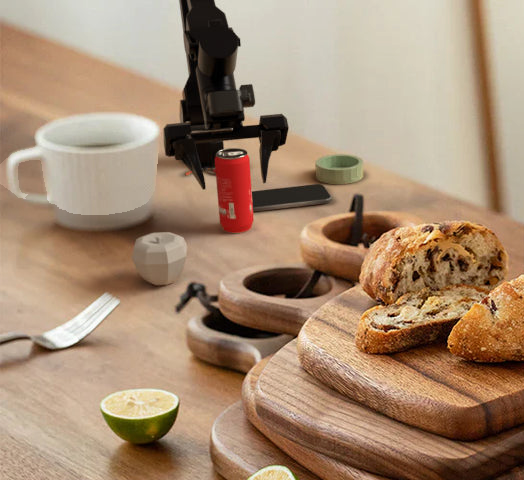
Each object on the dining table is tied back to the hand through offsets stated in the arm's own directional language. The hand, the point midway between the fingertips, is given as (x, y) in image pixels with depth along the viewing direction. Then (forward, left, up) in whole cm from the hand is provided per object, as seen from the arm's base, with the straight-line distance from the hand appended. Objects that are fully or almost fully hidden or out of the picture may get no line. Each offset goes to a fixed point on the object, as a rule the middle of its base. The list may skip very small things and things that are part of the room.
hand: (234, 185), depth 162 cm
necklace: (-26, +11, -7) cm, 30 cm away
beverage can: (-1, 0, -7) cm, 8 cm away
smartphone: (-6, +12, -7) cm, 15 cm away
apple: (+9, -18, -7) cm, 21 cm away
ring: (-10, +26, -7) cm, 29 cm away
